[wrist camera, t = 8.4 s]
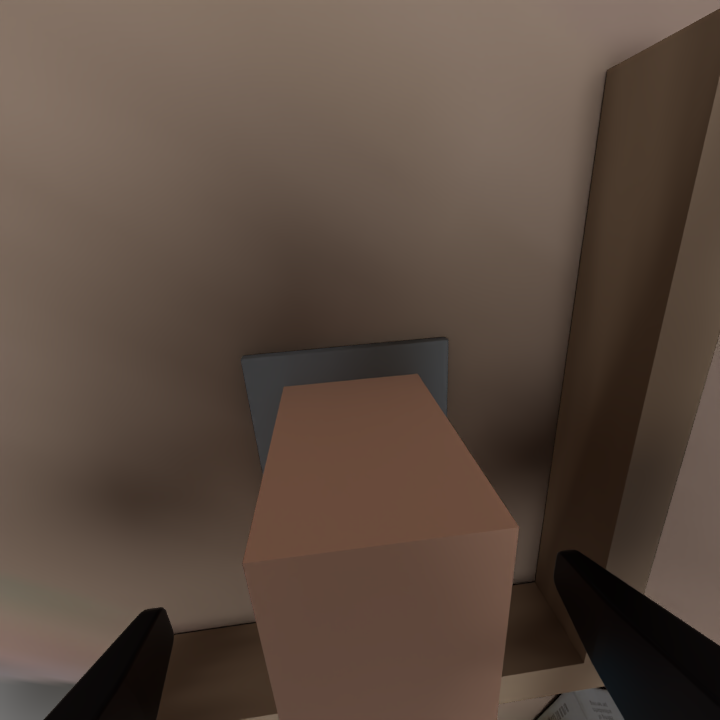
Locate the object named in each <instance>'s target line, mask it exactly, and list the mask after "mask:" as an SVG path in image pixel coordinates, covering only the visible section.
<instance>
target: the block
mask: <svg viewBox="0 0 720 720" xmlns="http://www.w3.org/2000/svg"><path fill="white" fill-rule="evenodd" d="M518 533H519V526H518V525H517V523H516V522H515V520H514V519H513V517H512V516H511V514H510V513H509V511H508V510H507V508H506V507H505V505H504V504H503V502H502V501H501V499H500V498H499V496H498V495H497V493H496V492H495V490H494V488H493V487H492V485H491V484H490V482H489V481H488V479H487V478H486V476H485V475H484V473H483V472H482V470H481V469H480V467H479V466H478V464H477V463H476V461H475V460H474V458H473V457H472V455H471V454H470V452H469V451H468V449H467V448H466V446H465V445H464V443H463V442H462V440H461V439H460V437H459V436H458V434H457V432H456V431H455V429H454V428H453V426H452V425H451V423H450V422H449V420H448V419H447V417H446V416H445V414H444V413H443V411H442V410H441V408H440V407H439V405H438V404H437V402H436V401H435V399H434V398H433V396H432V395H431V393H430V392H429V390H428V389H427V387H426V386H425V384H424V383H423V381H422V380H421V378H420V376H419V375H418V374H410V375H399V376H389V377H379V378H368V379H358V380H348V381H337V382H327V383H317V384H307V385H296V386H286V387H284V388H283V392H282V396H281V400H280V405H279V409H278V413H277V418H276V422H275V426H274V430H273V435H272V439H271V443H270V448H269V452H268V456H267V460H266V465H265V469H264V473H263V478H262V482H261V486H260V491H259V495H258V499H257V503H256V508H255V512H254V516H253V521H252V525H251V529H250V533H249V538H248V542H247V546H246V551H245V555H244V559H243V563H242V564H243V568H244V572H245V577H246V581H247V585H248V589H249V594H250V598H251V602H252V606H253V611H254V615H255V619H256V623H257V628H258V632H259V636H260V640H261V645H262V649H263V653H264V657H265V662H266V666H267V670H268V674H269V679H270V683H271V687H272V691H273V696H274V700H275V704H276V708H277V713H278V717H279V720H497V713H498V704H499V695H500V687H501V678H502V670H503V661H504V653H505V644H506V635H507V627H508V618H509V610H510V601H511V593H512V584H513V575H514V567H515V558H516V550H517V541H518Z"/></svg>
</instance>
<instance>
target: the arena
mask: <svg viewBox="0 0 720 720" xmlns="http://www.w3.org/2000/svg"><path fill="white" fill-rule="evenodd" d="M719 333H720V9H718V10H716V11H714V12H713V13H711V14H709V15H707V16H705V17H704V18H702V19H700V20H698V21H696V22H694V23H693V24H691V25H689V26H687V27H685V28H683V29H682V30H680V31H678V32H676V33H674V34H673V35H671V36H669V37H667V38H665V39H663V40H662V41H660V42H658V43H656V44H654V45H652V46H651V47H649V48H647V49H645V50H643V51H642V52H640V53H638V54H636V55H634V56H632V57H631V58H629V59H627V60H625V61H623V62H621V63H620V64H618V65H616V66H614V67H612V68H611V69H609V70H607V77H606V84H605V91H604V98H603V106H602V113H601V120H600V127H599V134H598V141H597V148H596V155H595V162H594V169H593V176H592V183H591V190H590V197H589V204H588V212H587V219H586V226H585V233H584V240H583V247H582V254H581V261H580V268H579V275H578V282H577V289H576V296H575V303H574V310H573V318H572V325H571V332H570V339H569V346H568V353H567V360H566V367H565V374H564V381H563V388H562V395H561V402H560V409H559V416H558V424H557V431H556V438H555V445H554V452H553V459H552V466H551V473H550V480H549V487H548V494H547V501H546V508H545V515H544V522H543V529H542V537H541V544H540V551H539V558H538V565H537V572H536V579H535V582H533V583H526V584H519V585H513V586H512V593H511V601H510V610H509V618H508V627H507V635H506V644H505V653H504V661H503V670H502V678H501V687H500V695H499V704H503V703H509V702H515V701H521V700H526V699H532V698H538V697H544V696H550V695H556V694H562V693H568V692H574V691H579V690H585V689H591V688H597V687H603V686H605V685H604V684H603V682H602V680H601V678H600V677H599V675H598V673H597V671H596V670H595V668H594V666H593V664H592V662H591V660H590V658H589V656H588V654H587V652H586V650H585V648H584V646H583V644H582V642H581V640H580V638H579V636H578V634H577V631H576V629H575V627H574V625H573V623H572V621H571V619H570V617H569V614H568V612H567V610H566V608H565V606H564V604H563V602H562V600H561V597H560V595H559V593H558V591H557V589H556V587H555V584H554V580H553V574H554V567H555V561H556V555H557V553H558V552H559V551H564V550H571V549H574V550H577V551H579V552H581V553H582V554H584V555H585V556H587V557H588V558H590V559H591V560H593V561H594V562H596V563H597V564H599V565H600V566H602V567H603V568H605V569H606V570H608V571H609V572H611V573H612V574H614V575H615V576H617V577H618V578H620V579H621V580H623V581H624V582H625V583H627V584H628V585H630V586H631V587H633V588H634V589H636V590H637V591H639V592H640V593H642V594H643V595H644V592H645V588H646V585H647V582H648V578H649V575H650V571H651V568H652V564H653V561H654V557H655V554H656V551H657V547H658V544H659V540H660V537H661V533H662V530H663V526H664V523H665V520H666V516H667V513H668V509H669V506H670V502H671V499H672V495H673V492H674V489H675V485H676V482H677V478H678V475H679V471H680V468H681V464H682V461H683V458H684V454H685V451H686V447H687V444H688V440H689V437H690V433H691V430H692V427H693V423H694V420H695V416H696V413H697V409H698V406H699V402H700V399H701V395H702V392H703V389H704V385H705V382H706V378H707V375H708V371H709V368H710V364H711V361H712V358H713V354H714V351H715V347H716V344H717V340H718V337H719ZM241 364H242V369H243V374H244V379H245V385H246V390H247V395H248V400H249V406H250V411H251V416H252V421H253V426H254V432H255V437H256V442H257V447H258V452H259V458H260V463H261V468H262V473H264V469H265V465H266V460H267V456H268V452H269V448H270V443H271V439H272V435H273V430H274V426H275V422H276V418H277V413H278V409H279V405H280V400H281V396H282V392H283V388H284V387H286V386H296V385H307V384H317V383H327V382H337V381H348V380H358V379H368V378H379V377H389V376H399V375H410V374H418V375H419V376H420V378H421V380H422V381H423V383H424V384H425V386H426V387H427V389H428V390H429V392H430V393H431V395H432V396H433V398H434V399H435V401H436V402H437V404H438V405H439V407H440V408H441V410H442V411H443V413H444V414H445V416H446V417H447V384H448V339H447V338H446V337H439V338H428V339H418V340H407V341H396V342H385V343H375V344H364V345H353V346H343V347H332V348H321V349H311V350H300V351H289V352H279V353H268V354H257V355H247V356H242V358H241ZM156 720H279V717H278V713H277V708H276V704H275V700H274V696H273V691H272V687H271V683H270V679H269V674H268V670H267V666H266V662H265V657H264V653H263V649H262V645H261V640H260V636H259V632H258V628H257V623H252V624H245V625H238V626H231V627H224V628H218V629H211V630H204V631H197V632H190V633H183V634H176V635H174V641H173V647H172V652H171V656H170V661H169V665H168V670H167V674H166V679H165V683H164V688H163V692H162V697H161V701H160V706H159V710H158V715H157V719H156Z"/></svg>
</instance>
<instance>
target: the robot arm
mask: <svg viewBox="0 0 720 720" xmlns="http://www.w3.org/2000/svg"><path fill="white" fill-rule="evenodd" d="M553 580H554V584H555V587H556V589H557V591H558V593H559V595H560V597H561V600H562V602H563V604H564V606H565V608H566V610H567V612H568V614H569V617H570V619H571V621H572V623H573V625H574V627H575V629H576V631H577V634H578V636H579V638H580V640H581V642H582V644H583V646H584V648H585V650H586V652H587V654H588V656H589V658H590V660H591V662H592V664H593V666H594V668H595V670H596V671H597V673H598V675H599V677H600V678H601V680H602V682H603V684H604V685H605V687H606V689H607V691H608V692H609V694H610V696H611V697H612V699H613V701H614V703H615V704H616V706H617V708H618V710H619V711H620V713H621V715H622V717H623V718H624V720H720V646H719V645H718V644H716V643H715V642H713V641H712V640H710V639H709V638H707V637H706V636H704V635H703V634H701V633H700V632H698V631H697V630H695V629H694V628H692V627H691V626H689V625H688V624H686V623H685V622H683V621H682V620H681V619H679V618H678V617H676V616H675V615H673V614H672V613H670V612H669V611H667V610H666V609H664V608H663V607H661V606H660V605H658V604H657V603H655V602H654V601H652V600H651V599H649V598H648V597H646V596H645V595H643V594H642V593H640V592H639V591H637V590H636V589H634V588H633V587H631V586H630V585H628V584H627V583H625V582H624V581H623V580H621V579H620V578H618V577H617V576H615V575H614V574H612V573H611V572H609V571H608V570H606V569H605V568H603V567H602V566H600V565H599V564H597V563H596V562H594V561H593V560H591V559H590V558H588V557H587V556H585V555H584V554H582V553H581V552H579V551H577V550H574V549H571V550H564V551H559V552H558V553H557V555H556V561H555V567H554V574H553ZM173 641H174V632H173V629H172V626H171V623H170V621H169V618H168V615H167V612H166V610H165V609H164V608H163V607H159V608H152V609H147V610H144V611H143V612H141V613H140V614H139V615H138V616H137V617H136V618H135V619H134V621H133V622H132V623H131V624H130V625H129V626H128V627H127V628H126V629H125V630H124V632H123V633H122V634H121V635H120V636H119V637H118V638H117V639H116V640H115V642H114V643H113V644H112V645H111V646H110V647H109V648H108V649H107V650H106V651H105V653H104V654H103V655H102V656H101V657H100V658H99V659H98V660H97V661H96V662H95V664H94V665H93V666H92V667H91V668H90V669H89V670H88V671H87V672H86V674H85V675H84V676H83V677H82V678H81V679H80V680H79V681H78V682H77V683H76V685H75V686H74V687H73V688H72V689H71V690H70V691H69V692H68V693H67V694H66V696H65V697H64V698H63V699H62V700H61V701H60V702H59V703H58V705H57V706H56V707H55V708H54V709H53V710H52V711H51V712H50V713H49V714H48V716H47V717H46V718H45V719H44V720H156V719H157V715H158V710H159V706H160V701H161V697H162V692H163V688H164V683H165V679H166V674H167V670H168V665H169V661H170V656H171V652H172V647H173Z"/></svg>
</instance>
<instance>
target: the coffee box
mask: <svg viewBox="0 0 720 720" xmlns="http://www.w3.org/2000/svg"><path fill="white" fill-rule="evenodd" d="M537 720H624V718H623V717H622V715H621V713H620V711H619V710H618V708H617V706H616V704H615V703H614V701H613V699H612V697H611V696H610V694H609V692H608V691H607V690H604V689H599V688H591V689H585V690H579V691H574V692H568V693H562V694H561V695H560V697H559V698H558V699H557V700H556V701H555V702H554V703H553V704H552V705H551V706H550V707H549V708H548V709H547V710H546V711H545V712H544V713H543V714H542V715H541V716H540V717H539V718H538V719H537Z"/></svg>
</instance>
